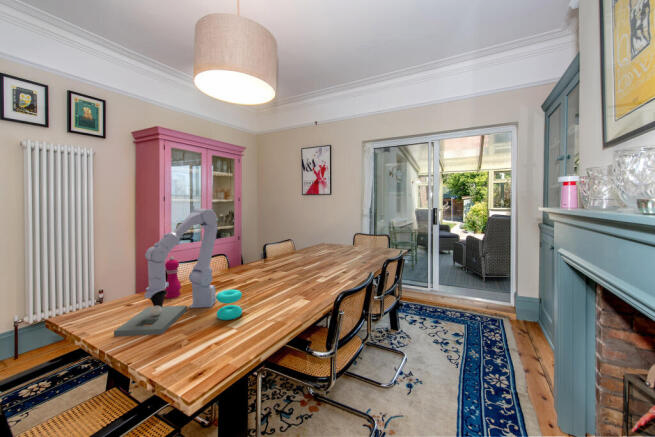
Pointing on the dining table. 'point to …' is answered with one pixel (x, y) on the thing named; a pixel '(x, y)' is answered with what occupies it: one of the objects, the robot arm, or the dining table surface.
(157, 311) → the ball
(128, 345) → the dining table surface
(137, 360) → the dining table surface
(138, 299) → the dining table surface
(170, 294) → the pepper mill
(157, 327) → the plate
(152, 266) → the robot arm
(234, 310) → the donuts
